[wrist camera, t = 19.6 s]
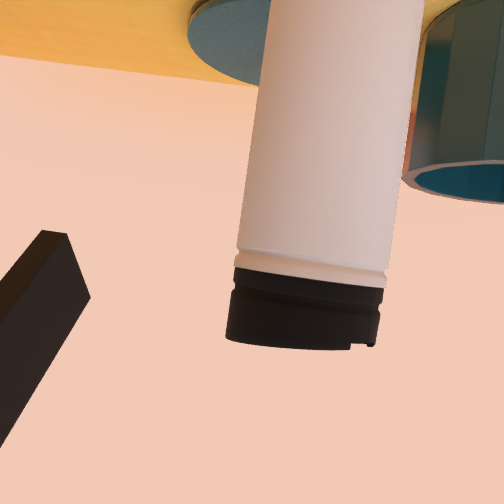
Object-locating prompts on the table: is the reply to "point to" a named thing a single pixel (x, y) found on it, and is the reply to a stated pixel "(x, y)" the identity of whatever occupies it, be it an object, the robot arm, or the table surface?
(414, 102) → the pot
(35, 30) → the table surface
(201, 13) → the lid
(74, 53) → the table surface
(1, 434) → the robot arm
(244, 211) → the travel mug
